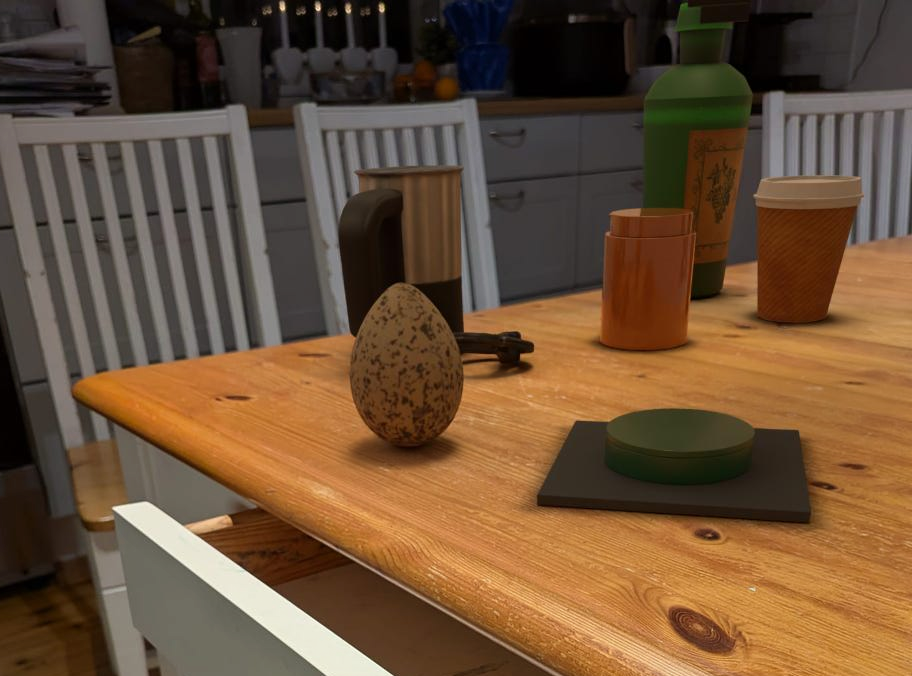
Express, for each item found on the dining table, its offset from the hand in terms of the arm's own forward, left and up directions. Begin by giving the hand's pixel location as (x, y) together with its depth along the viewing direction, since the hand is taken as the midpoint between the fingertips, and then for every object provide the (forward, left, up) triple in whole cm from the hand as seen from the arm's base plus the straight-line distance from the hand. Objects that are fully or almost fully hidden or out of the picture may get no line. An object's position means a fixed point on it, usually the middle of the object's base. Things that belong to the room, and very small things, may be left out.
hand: (721, 15), depth 50 cm
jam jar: (+5, -28, -23) cm, 36 cm away
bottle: (+3, -52, -23) cm, 57 cm away
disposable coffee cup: (-8, -40, -23) cm, 47 cm away
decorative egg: (+17, +4, -23) cm, 29 cm away
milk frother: (+21, -20, -23) cm, 37 cm away
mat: (0, +6, -23) cm, 23 cm away
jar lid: (0, +6, -21) cm, 21 cm away
